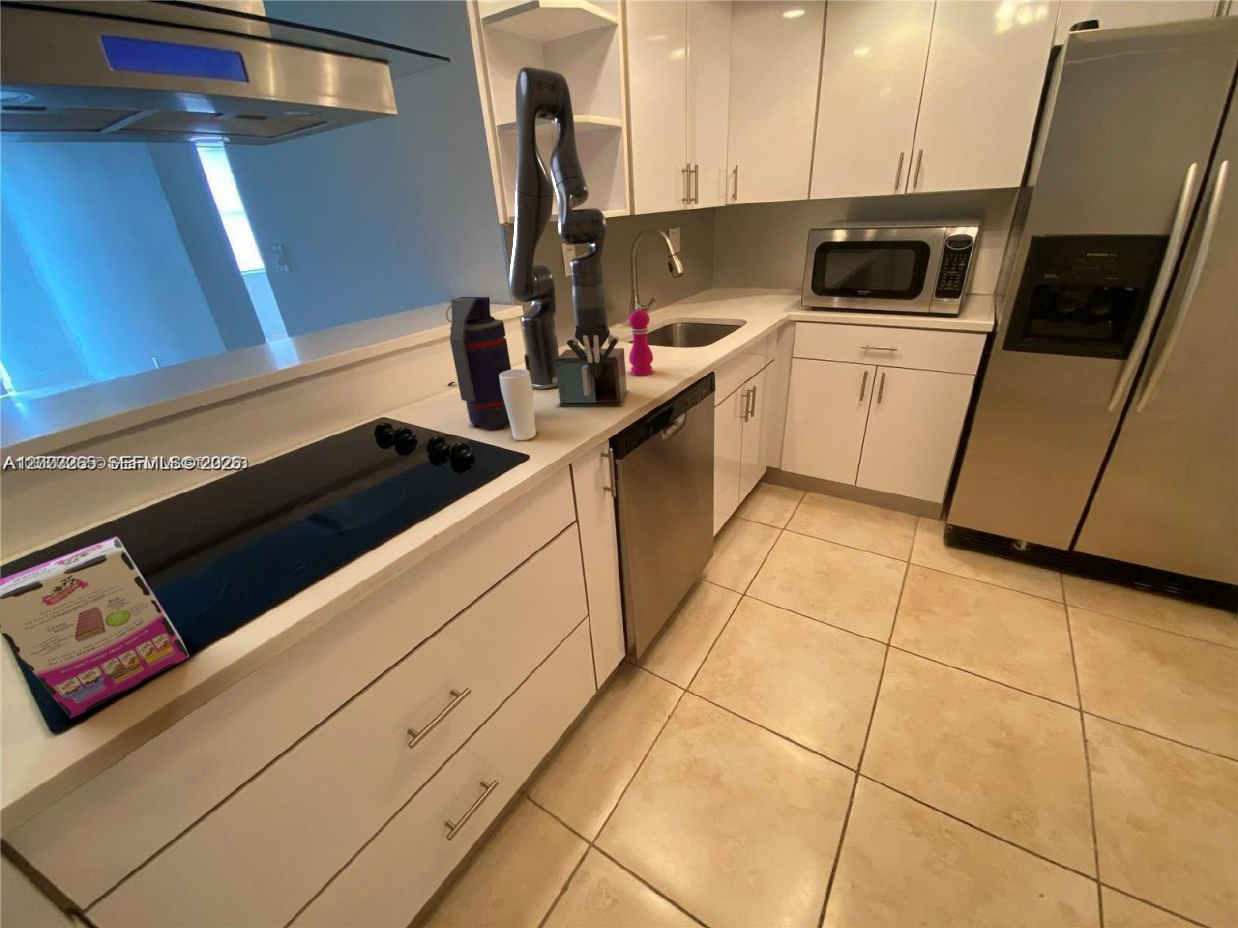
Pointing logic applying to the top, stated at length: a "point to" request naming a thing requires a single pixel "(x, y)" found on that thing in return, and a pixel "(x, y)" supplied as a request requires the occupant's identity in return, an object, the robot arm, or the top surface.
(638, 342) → the pepper mill
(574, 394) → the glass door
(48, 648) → the candy bar box
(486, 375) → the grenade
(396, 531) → the top surface
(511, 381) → the drinking glass
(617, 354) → the cabinet
